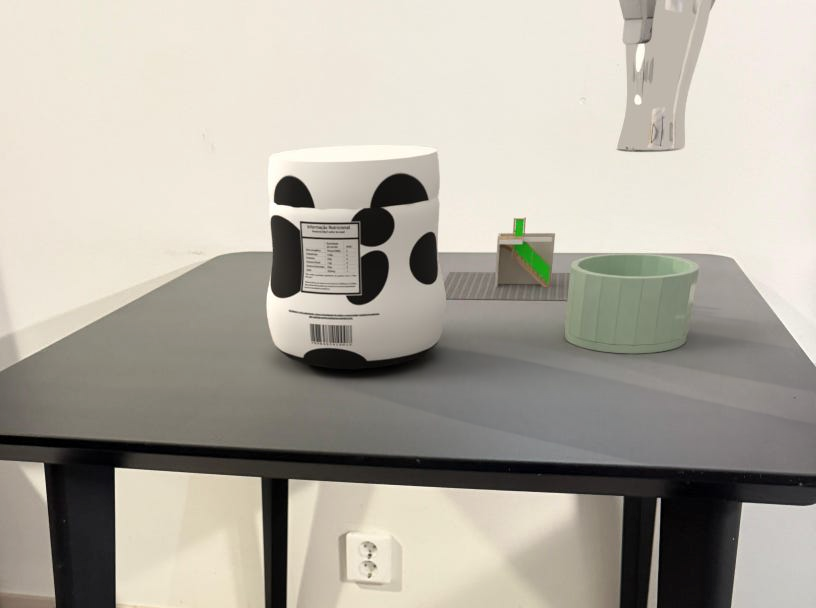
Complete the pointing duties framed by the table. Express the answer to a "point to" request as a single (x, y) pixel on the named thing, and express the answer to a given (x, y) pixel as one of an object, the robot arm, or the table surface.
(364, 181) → the milk container
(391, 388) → the table surface
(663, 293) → the ceramic cup
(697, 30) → the beer glass
